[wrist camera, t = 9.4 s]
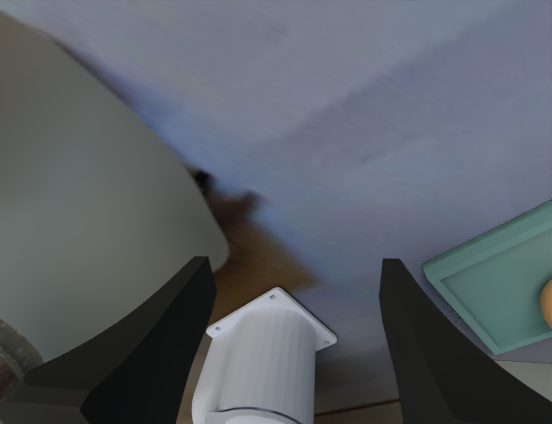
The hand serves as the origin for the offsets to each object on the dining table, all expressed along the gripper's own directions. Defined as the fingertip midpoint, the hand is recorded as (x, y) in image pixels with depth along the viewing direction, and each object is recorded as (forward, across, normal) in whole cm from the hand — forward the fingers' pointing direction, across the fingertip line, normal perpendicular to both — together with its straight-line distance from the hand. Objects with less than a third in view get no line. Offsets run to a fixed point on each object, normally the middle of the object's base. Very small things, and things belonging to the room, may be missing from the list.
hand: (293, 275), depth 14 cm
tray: (+9, -15, +8) cm, 20 cm away
